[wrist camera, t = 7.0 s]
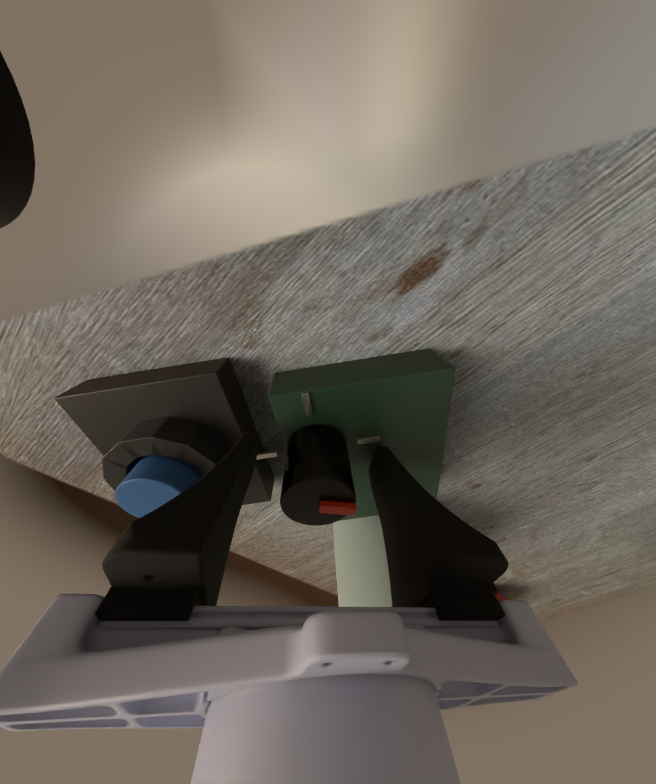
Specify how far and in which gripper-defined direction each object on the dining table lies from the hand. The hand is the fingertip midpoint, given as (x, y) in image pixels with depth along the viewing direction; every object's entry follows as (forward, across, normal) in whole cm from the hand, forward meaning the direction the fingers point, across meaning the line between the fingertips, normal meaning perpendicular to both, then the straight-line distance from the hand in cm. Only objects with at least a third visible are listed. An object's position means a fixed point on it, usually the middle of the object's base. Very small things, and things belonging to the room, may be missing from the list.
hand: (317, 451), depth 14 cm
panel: (+3, -4, +1) cm, 5 cm away
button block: (+3, +8, +3) cm, 10 cm away
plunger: (0, +9, +3) cm, 9 cm away
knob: (0, 0, 0) cm, 0 cm away
